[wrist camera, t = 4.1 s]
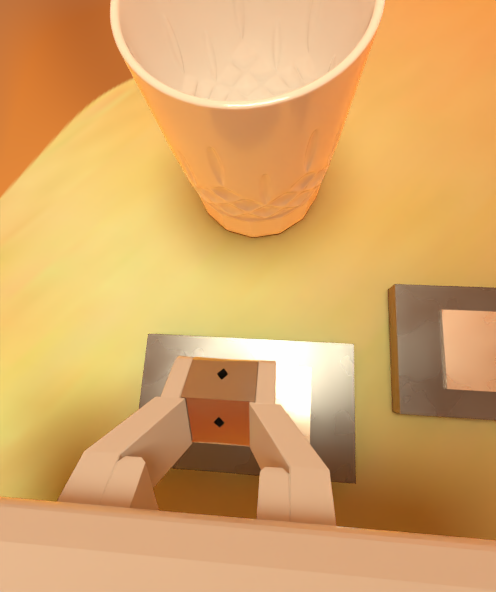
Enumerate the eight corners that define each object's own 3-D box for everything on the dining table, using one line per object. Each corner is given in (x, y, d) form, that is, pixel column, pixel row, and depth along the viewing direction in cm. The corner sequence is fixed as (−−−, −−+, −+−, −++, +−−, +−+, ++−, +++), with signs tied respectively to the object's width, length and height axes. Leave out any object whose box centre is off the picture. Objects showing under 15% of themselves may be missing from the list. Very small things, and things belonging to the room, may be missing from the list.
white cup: (236, 105, 21) (203, -136, 11) (353, 158, 19) (435, -62, 9) (164, 208, 19) (55, 40, 10) (284, 273, 18) (297, 154, 8)
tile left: (349, 345, 17) (354, 343, 16) (350, 476, 15) (356, 485, 14) (155, 335, 18) (146, 333, 16) (140, 459, 16) (130, 465, 15)
